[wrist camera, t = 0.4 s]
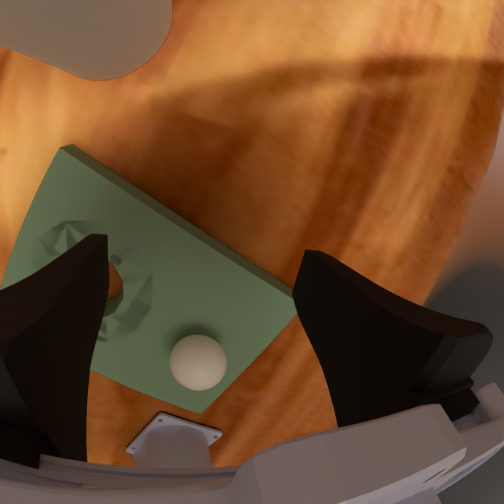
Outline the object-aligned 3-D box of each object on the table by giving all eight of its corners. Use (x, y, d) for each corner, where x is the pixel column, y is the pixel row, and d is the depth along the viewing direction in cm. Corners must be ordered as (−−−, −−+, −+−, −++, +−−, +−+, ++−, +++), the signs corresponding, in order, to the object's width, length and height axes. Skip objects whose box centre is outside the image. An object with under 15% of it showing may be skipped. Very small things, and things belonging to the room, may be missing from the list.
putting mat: (292, 289, 26) (303, 305, 24) (197, 394, 28) (200, 414, 26) (72, 144, 17) (59, 147, 15) (5, 296, 20) (-7, 312, 18)
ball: (202, 370, 24) (209, 408, 20) (159, 351, 22) (159, 389, 19) (232, 337, 23) (243, 374, 20) (187, 314, 22) (191, 351, 18)
